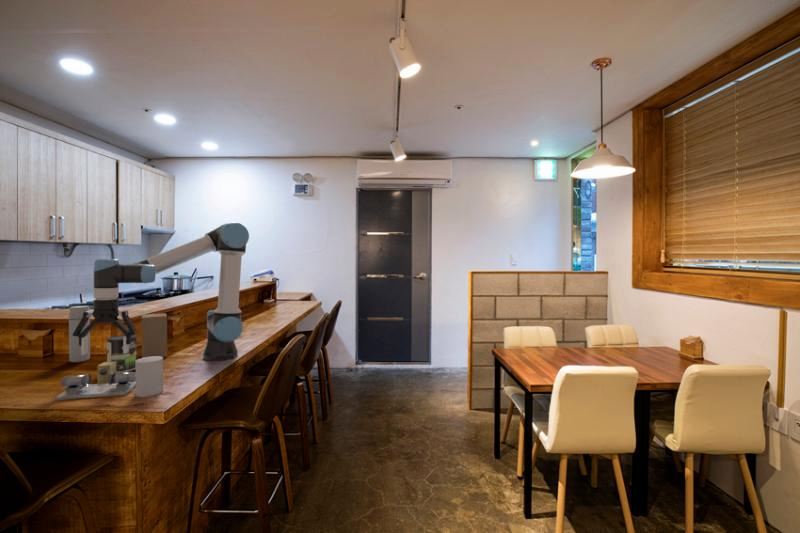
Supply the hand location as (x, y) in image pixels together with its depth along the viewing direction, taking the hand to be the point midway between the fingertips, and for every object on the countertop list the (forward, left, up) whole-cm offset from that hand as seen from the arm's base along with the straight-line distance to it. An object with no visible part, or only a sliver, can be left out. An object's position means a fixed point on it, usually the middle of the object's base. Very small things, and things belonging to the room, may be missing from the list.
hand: (105, 353), depth 140 cm
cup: (-21, +17, -11) cm, 29 cm away
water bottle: (+26, -35, -11) cm, 45 cm away
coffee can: (+1, -15, -11) cm, 19 cm away
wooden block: (-4, -36, -11) cm, 38 cm away
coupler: (0, 0, -11) cm, 11 cm away
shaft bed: (-3, +12, -11) cm, 17 cm away
